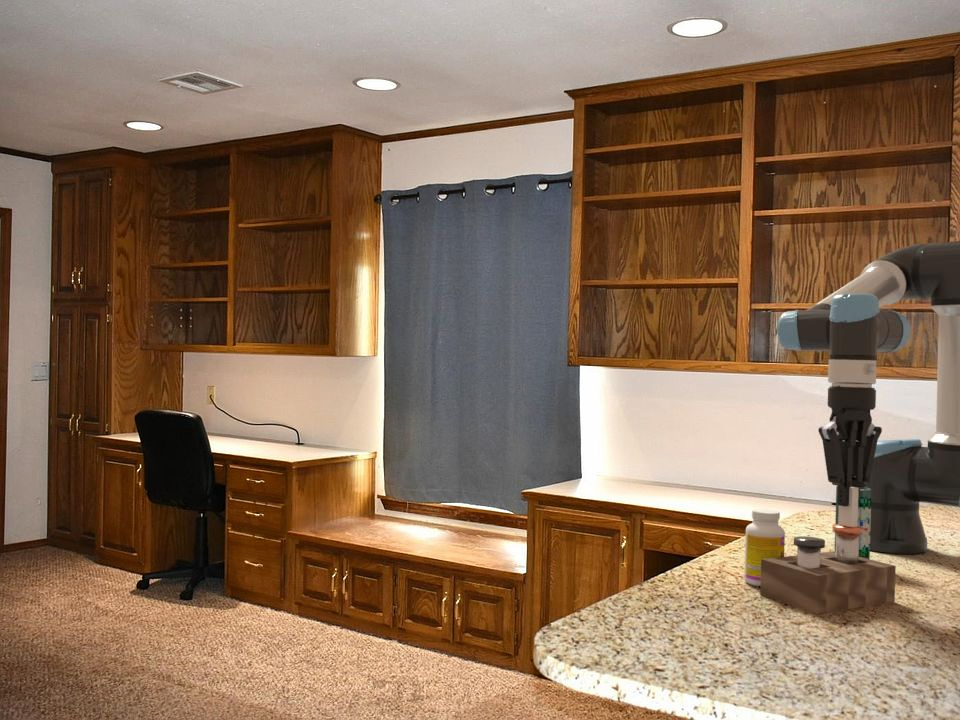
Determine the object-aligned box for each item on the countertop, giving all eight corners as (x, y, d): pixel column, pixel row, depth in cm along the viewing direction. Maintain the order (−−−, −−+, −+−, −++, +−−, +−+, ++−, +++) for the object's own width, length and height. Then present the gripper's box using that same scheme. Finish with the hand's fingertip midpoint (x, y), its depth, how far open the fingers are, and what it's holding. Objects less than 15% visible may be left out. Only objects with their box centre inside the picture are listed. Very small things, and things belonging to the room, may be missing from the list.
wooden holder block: (835, 584, 160) (836, 550, 160) (894, 602, 149) (895, 565, 149) (760, 594, 152) (761, 559, 152) (817, 614, 141) (818, 575, 141)
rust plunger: (844, 575, 156) (846, 523, 156) (867, 581, 152) (869, 528, 152) (824, 577, 154) (826, 524, 154) (848, 584, 149) (849, 530, 149)
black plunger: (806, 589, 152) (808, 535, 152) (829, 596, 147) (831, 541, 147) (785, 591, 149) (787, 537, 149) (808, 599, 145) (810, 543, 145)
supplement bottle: (785, 589, 156) (788, 515, 155) (745, 586, 157) (748, 513, 157) (780, 580, 162) (783, 509, 162) (742, 577, 163) (744, 506, 163)
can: (852, 569, 172) (854, 490, 172) (828, 562, 178) (830, 486, 178) (875, 567, 175) (877, 489, 175) (851, 560, 180) (853, 485, 180)
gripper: (843, 386, 146) (838, 531, 146) (897, 386, 152) (892, 526, 152) (806, 384, 153) (802, 523, 153) (859, 385, 159) (855, 519, 159)
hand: (847, 525), depth 152 cm, fingers closed
